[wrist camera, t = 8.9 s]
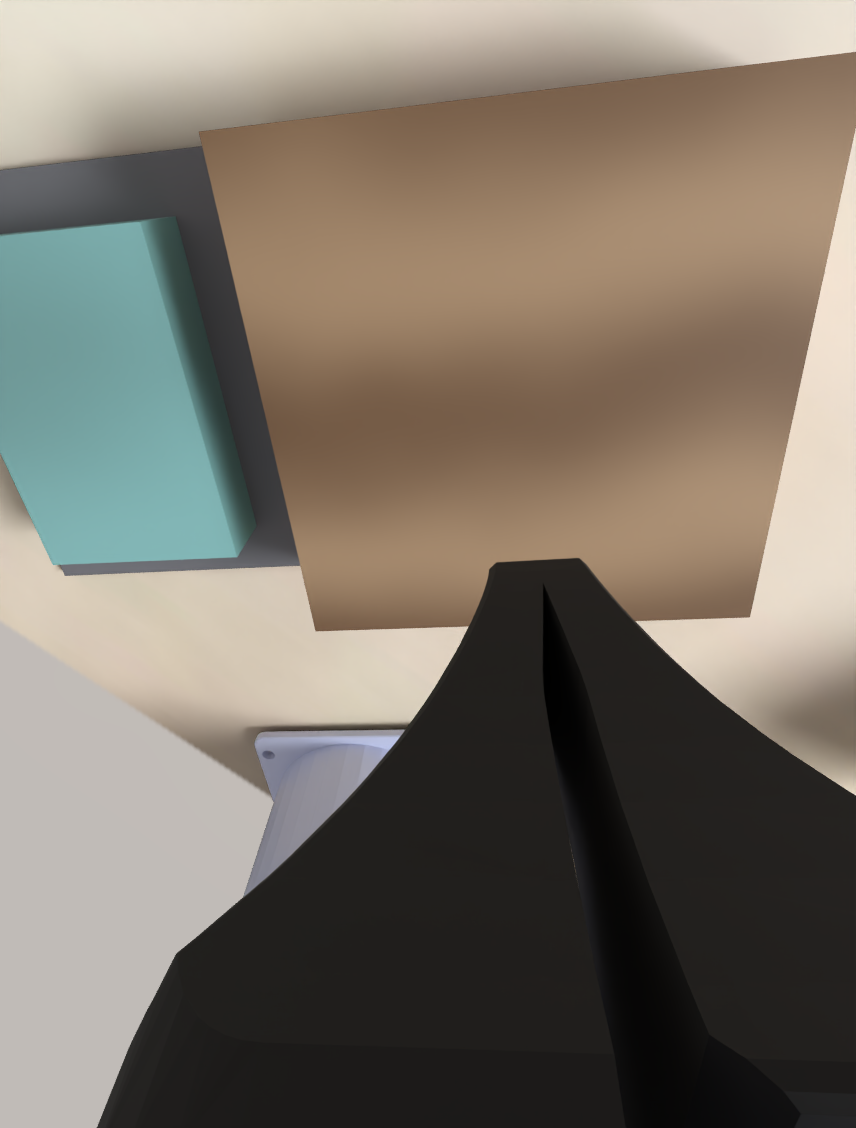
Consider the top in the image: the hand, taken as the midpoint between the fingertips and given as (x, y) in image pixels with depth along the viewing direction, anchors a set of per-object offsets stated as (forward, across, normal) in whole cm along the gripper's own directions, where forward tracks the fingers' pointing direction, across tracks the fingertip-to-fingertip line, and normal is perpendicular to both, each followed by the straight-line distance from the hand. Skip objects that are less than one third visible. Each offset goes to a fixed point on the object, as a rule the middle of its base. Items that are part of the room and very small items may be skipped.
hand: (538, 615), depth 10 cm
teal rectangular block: (+8, +11, -1) cm, 14 cm away
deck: (+10, 0, -1) cm, 10 cm away
